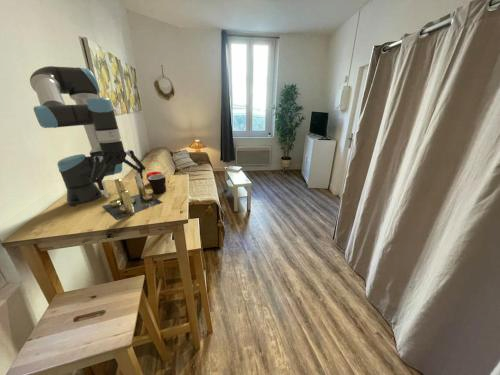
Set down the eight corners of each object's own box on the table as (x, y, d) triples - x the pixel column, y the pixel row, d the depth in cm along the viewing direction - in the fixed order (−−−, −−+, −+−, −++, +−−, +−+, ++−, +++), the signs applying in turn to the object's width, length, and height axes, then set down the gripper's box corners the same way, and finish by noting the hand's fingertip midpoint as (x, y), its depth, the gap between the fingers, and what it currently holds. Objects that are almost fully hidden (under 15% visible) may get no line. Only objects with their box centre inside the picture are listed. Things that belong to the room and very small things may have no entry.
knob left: (154, 198, 108) (149, 178, 104) (145, 201, 105) (140, 181, 101) (145, 193, 114) (141, 174, 109) (137, 196, 110) (132, 177, 106)
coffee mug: (162, 197, 112) (159, 180, 108) (148, 196, 114) (144, 179, 110) (174, 188, 123) (171, 172, 119) (161, 188, 124) (157, 172, 120)
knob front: (119, 210, 97) (112, 188, 93) (129, 206, 100) (123, 185, 96) (127, 217, 92) (120, 194, 87) (137, 212, 95) (131, 190, 90)
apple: (163, 181, 135) (161, 169, 132) (164, 185, 127) (162, 173, 124) (148, 183, 132) (145, 171, 128) (148, 188, 124) (145, 176, 121)
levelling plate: (102, 208, 102) (100, 202, 101) (145, 194, 117) (143, 188, 115) (117, 222, 90) (115, 215, 89) (163, 204, 105) (162, 198, 103)
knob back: (116, 207, 100) (110, 186, 96) (108, 206, 101) (101, 185, 96) (130, 198, 108) (124, 178, 104) (122, 198, 109) (116, 178, 105)
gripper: (73, 147, 70) (93, 204, 78) (146, 137, 88) (157, 184, 96) (67, 145, 75) (87, 199, 83) (138, 135, 92) (149, 180, 100)
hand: (124, 191), depth 89 cm, fingers open, 13 cm apart
